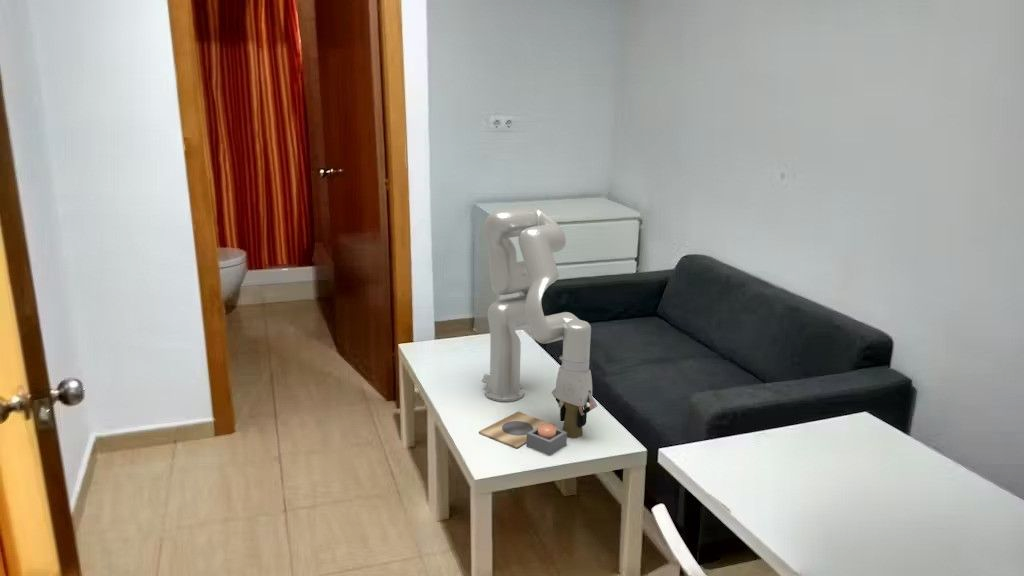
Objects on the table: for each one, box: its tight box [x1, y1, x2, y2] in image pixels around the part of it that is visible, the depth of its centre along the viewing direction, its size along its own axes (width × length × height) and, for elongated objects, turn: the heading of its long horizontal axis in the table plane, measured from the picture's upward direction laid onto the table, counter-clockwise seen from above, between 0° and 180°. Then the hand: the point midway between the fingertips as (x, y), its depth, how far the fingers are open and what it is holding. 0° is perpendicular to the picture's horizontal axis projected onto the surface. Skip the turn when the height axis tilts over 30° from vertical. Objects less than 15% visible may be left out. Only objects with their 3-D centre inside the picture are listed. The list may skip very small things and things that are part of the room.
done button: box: [538, 423, 557, 440], centre depth 217 cm, size 5×5×3 cm
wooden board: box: [478, 410, 556, 450], centre depth 226 cm, size 14×18×1 cm
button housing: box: [525, 427, 568, 456], centre depth 217 cm, size 8×8×4 cm
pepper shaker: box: [561, 402, 584, 439], centre depth 224 cm, size 6×6×11 cm
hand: (572, 422), depth 224 cm, fingers open, 5 cm apart
